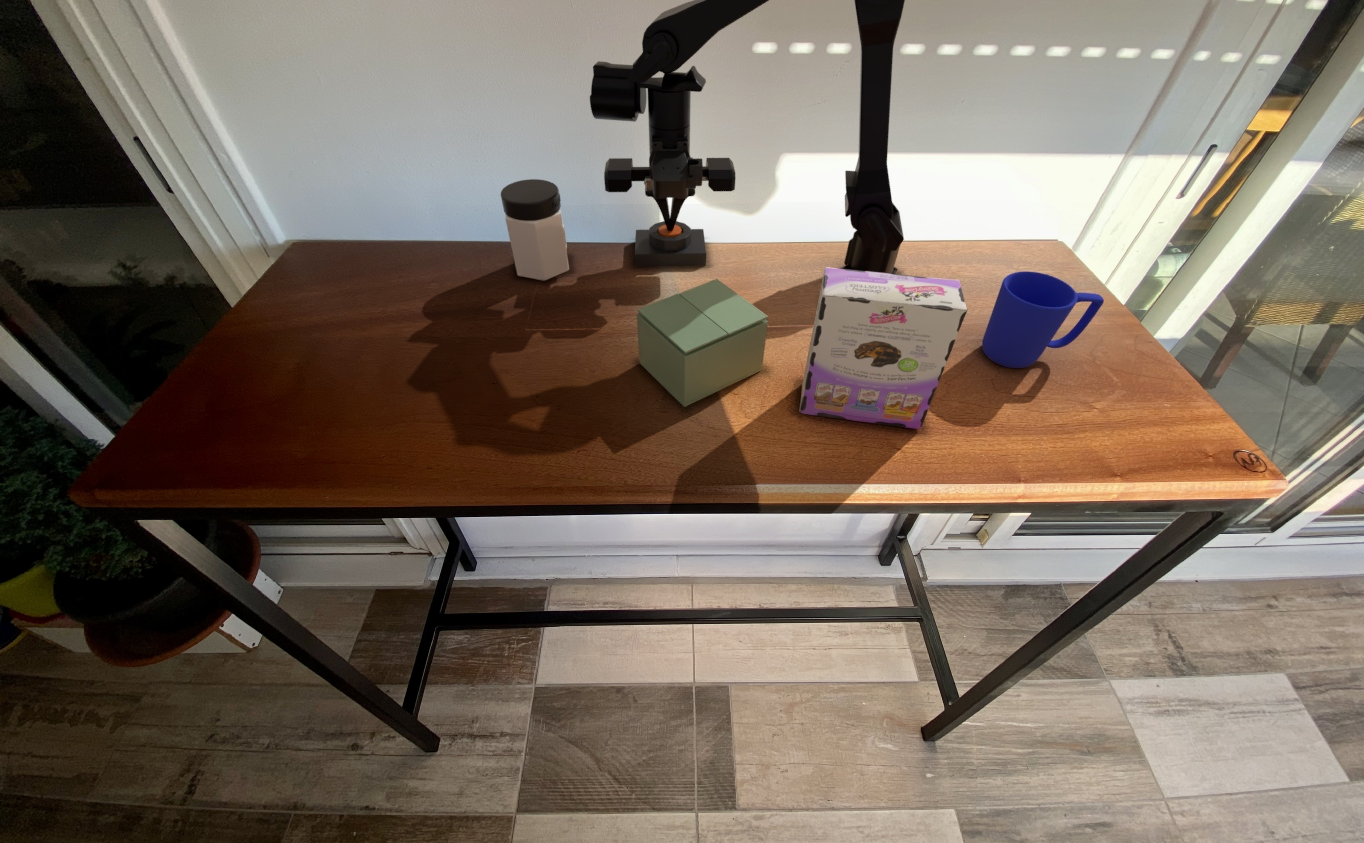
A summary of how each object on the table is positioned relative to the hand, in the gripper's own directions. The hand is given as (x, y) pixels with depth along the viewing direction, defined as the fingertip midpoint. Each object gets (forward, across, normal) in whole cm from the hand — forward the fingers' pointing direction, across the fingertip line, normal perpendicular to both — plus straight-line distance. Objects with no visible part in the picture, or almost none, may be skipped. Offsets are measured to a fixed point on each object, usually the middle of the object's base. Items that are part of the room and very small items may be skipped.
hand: (670, 229), depth 93 cm
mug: (+4, +45, -27) cm, 53 cm away
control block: (+4, 0, 0) cm, 4 cm away
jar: (+4, -20, -3) cm, 21 cm away
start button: (+2, 0, 0) cm, 2 cm away
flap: (-4, +6, -27) cm, 28 cm away
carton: (+4, +3, -28) cm, 29 cm away
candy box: (+4, +22, -36) cm, 42 cm away
